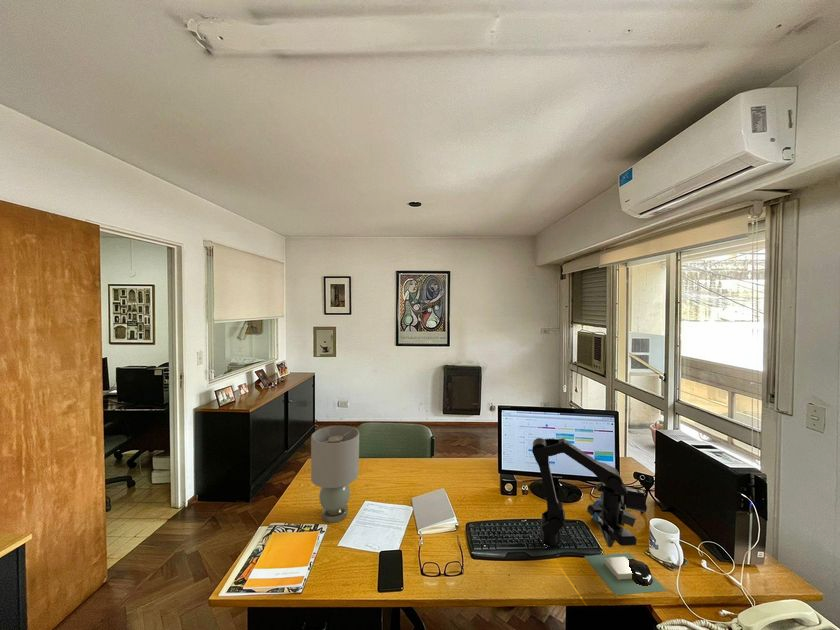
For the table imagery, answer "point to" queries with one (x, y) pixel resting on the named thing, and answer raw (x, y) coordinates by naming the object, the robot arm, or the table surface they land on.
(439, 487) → the table surface
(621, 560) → the block
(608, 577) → the mat
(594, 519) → the blue bottle
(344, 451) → the lamp
